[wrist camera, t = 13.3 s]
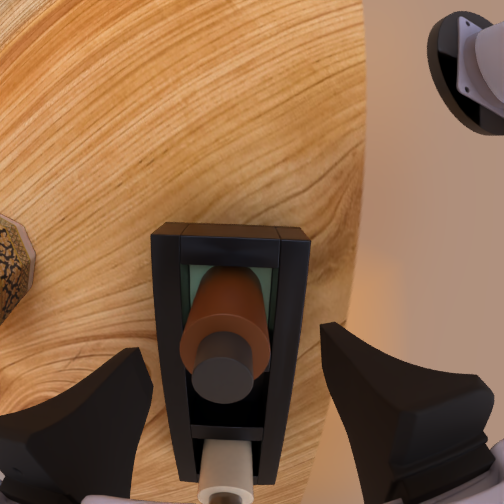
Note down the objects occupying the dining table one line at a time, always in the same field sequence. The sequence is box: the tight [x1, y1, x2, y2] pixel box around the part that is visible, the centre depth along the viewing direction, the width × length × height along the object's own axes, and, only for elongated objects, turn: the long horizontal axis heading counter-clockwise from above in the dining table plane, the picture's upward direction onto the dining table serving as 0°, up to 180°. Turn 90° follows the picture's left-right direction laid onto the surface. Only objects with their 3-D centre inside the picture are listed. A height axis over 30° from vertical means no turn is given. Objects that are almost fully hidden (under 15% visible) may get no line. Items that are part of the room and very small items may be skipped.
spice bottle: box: [180, 266, 270, 404], centre depth 16 cm, size 4×4×9 cm
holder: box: [151, 222, 311, 485], centre depth 21 cm, size 8×22×3 cm, turn 177°
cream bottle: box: [197, 439, 254, 504], centre depth 20 cm, size 4×4×9 cm
